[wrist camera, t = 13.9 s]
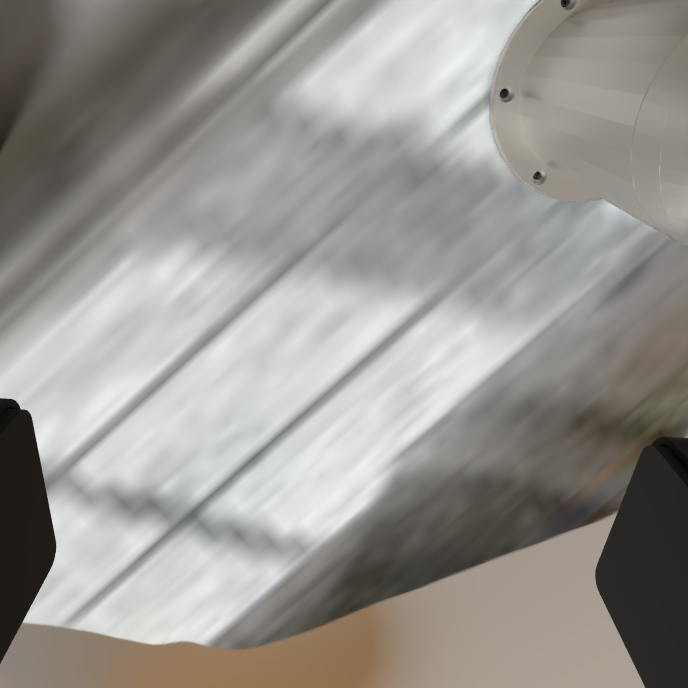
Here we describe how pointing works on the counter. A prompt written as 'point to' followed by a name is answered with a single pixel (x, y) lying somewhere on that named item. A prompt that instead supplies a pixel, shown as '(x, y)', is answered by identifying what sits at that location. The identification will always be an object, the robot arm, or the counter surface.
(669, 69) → the robot arm
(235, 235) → the counter surface
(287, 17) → the counter surface
